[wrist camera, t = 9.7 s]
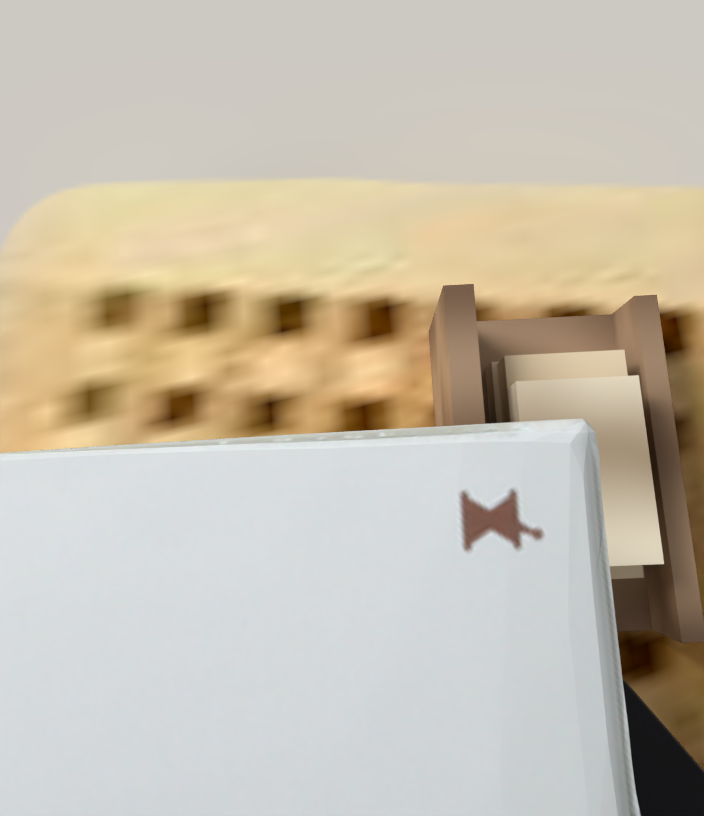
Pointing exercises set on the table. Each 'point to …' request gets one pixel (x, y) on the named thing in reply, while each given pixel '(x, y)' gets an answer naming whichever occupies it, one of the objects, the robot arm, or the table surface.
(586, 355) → the offcut stack
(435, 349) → the tray
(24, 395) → the table surface
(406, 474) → the supplement box
